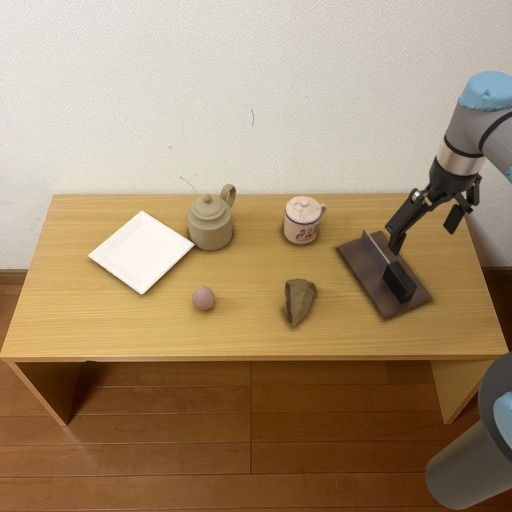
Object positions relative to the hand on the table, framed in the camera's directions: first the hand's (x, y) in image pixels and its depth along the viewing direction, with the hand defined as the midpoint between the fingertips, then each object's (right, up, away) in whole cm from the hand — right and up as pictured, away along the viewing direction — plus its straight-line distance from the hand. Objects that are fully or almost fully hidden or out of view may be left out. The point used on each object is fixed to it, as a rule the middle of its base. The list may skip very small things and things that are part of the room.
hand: (420, 240), depth 97 cm
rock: (-23, -15, +15) cm, 31 cm away
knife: (-3, -7, +19) cm, 20 cm away
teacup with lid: (-21, +3, +28) cm, 35 cm away
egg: (-46, -15, +14) cm, 50 cm away
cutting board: (-3, -8, +20) cm, 22 cm away
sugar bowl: (-45, +4, +28) cm, 53 cm away
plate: (-62, -3, +23) cm, 66 cm away
